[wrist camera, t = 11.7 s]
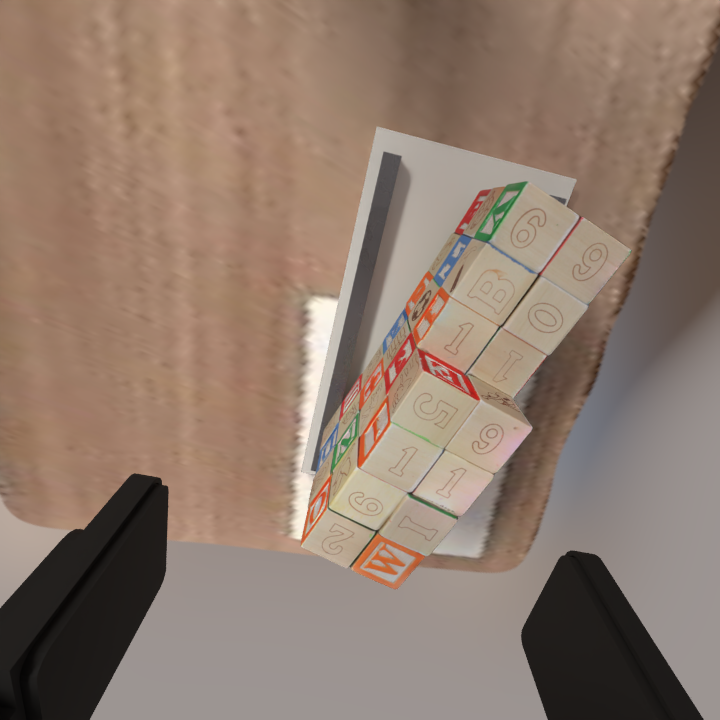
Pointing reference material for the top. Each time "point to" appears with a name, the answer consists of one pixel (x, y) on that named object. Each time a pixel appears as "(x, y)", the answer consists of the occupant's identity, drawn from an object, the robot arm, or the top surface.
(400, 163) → the base board
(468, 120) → the top surface
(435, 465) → the stack of blocks
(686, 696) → the robot arm
